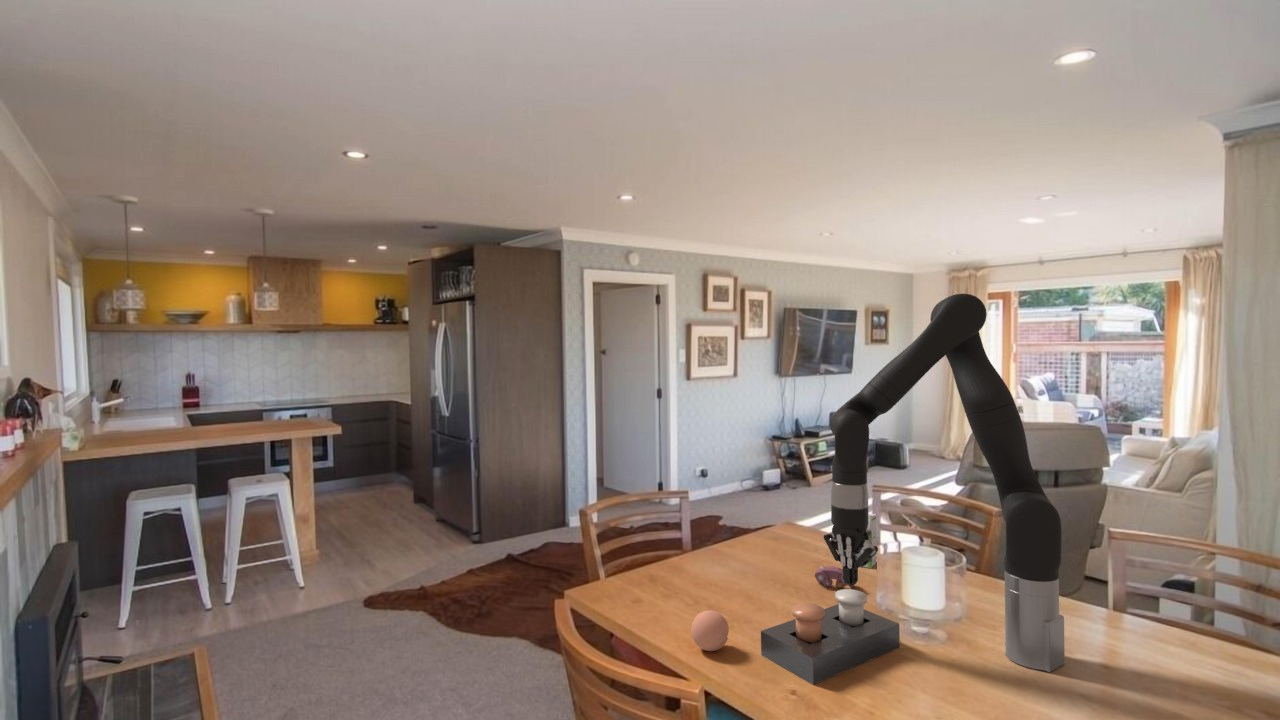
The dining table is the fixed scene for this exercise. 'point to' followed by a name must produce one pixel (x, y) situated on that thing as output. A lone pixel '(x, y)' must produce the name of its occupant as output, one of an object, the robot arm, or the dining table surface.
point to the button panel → (830, 645)
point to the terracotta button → (808, 621)
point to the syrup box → (871, 538)
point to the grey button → (851, 606)
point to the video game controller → (830, 576)
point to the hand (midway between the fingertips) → (850, 583)
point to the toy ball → (710, 630)
